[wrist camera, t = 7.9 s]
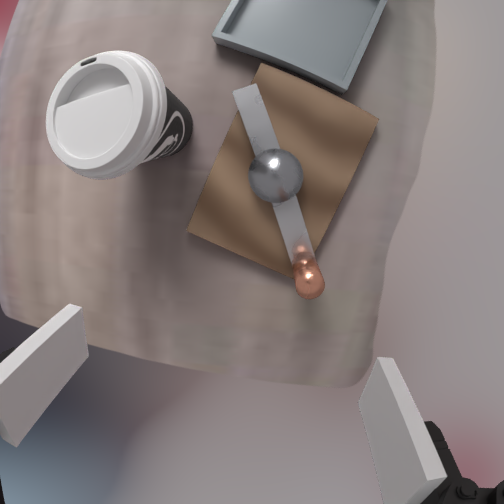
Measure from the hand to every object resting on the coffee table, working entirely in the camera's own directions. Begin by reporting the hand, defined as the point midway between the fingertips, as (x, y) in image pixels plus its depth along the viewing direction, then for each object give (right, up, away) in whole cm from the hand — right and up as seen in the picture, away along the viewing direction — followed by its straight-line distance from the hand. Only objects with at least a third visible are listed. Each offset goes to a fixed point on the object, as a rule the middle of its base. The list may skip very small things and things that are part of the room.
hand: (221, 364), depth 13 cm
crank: (+4, +12, +18) cm, 22 cm away
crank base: (+4, +13, +19) cm, 23 cm away
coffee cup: (-8, +18, +19) cm, 27 cm away
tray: (+7, +30, +14) cm, 34 cm away
